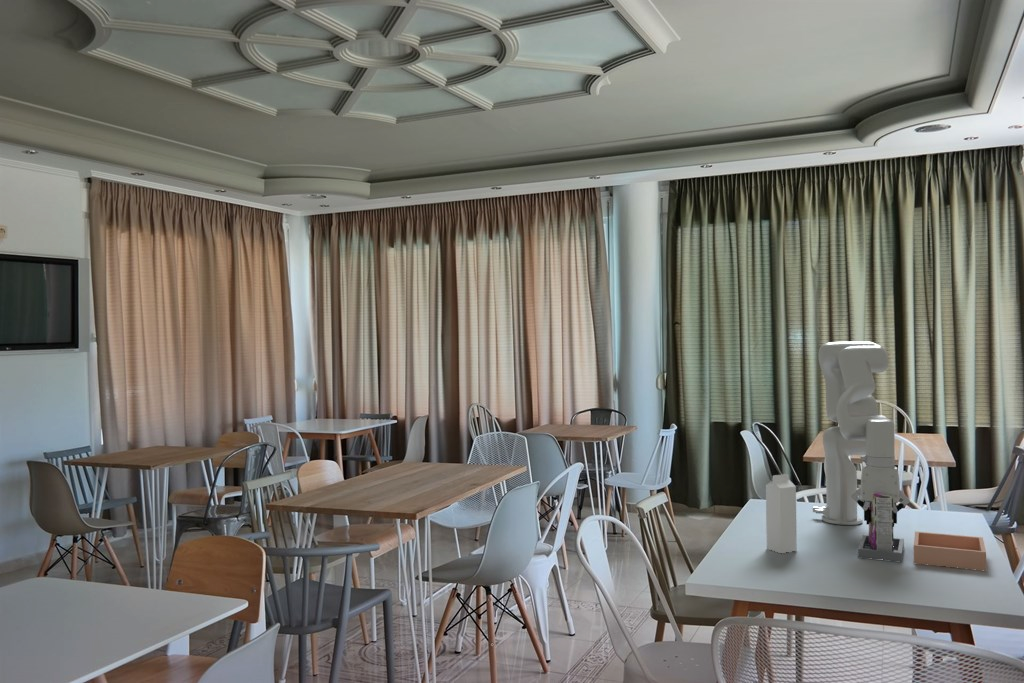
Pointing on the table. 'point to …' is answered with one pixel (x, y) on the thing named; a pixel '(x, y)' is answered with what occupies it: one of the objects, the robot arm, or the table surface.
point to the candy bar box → (881, 522)
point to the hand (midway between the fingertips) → (880, 524)
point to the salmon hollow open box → (949, 550)
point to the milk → (781, 514)
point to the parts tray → (880, 553)
